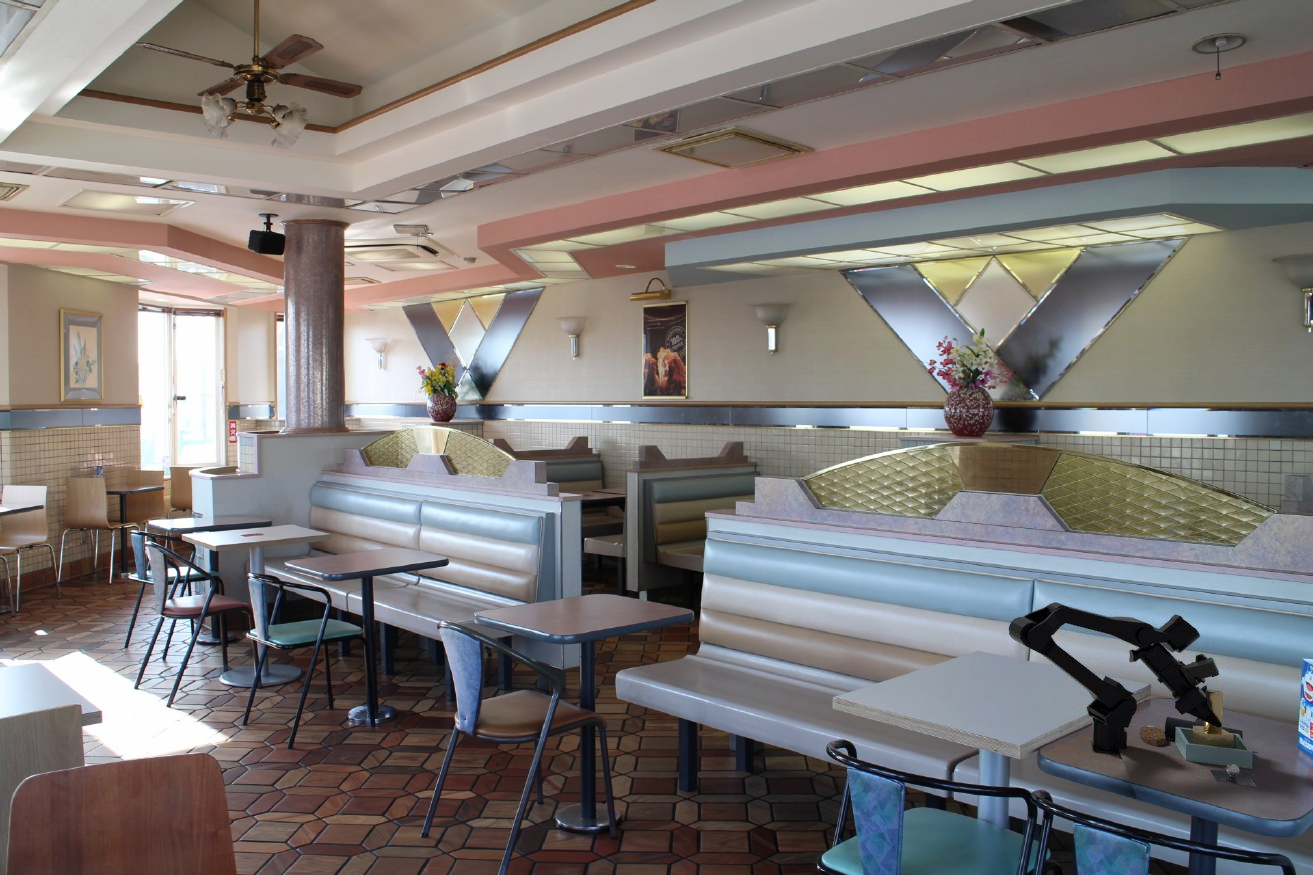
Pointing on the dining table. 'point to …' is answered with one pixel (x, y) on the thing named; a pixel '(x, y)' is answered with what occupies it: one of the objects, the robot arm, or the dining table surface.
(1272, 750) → the dining table surface
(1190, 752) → the bin
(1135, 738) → the dining table surface
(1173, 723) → the pipe connector
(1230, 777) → the plate
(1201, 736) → the gold trophy
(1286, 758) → the dining table surface
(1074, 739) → the dining table surface
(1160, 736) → the ice cream bar
